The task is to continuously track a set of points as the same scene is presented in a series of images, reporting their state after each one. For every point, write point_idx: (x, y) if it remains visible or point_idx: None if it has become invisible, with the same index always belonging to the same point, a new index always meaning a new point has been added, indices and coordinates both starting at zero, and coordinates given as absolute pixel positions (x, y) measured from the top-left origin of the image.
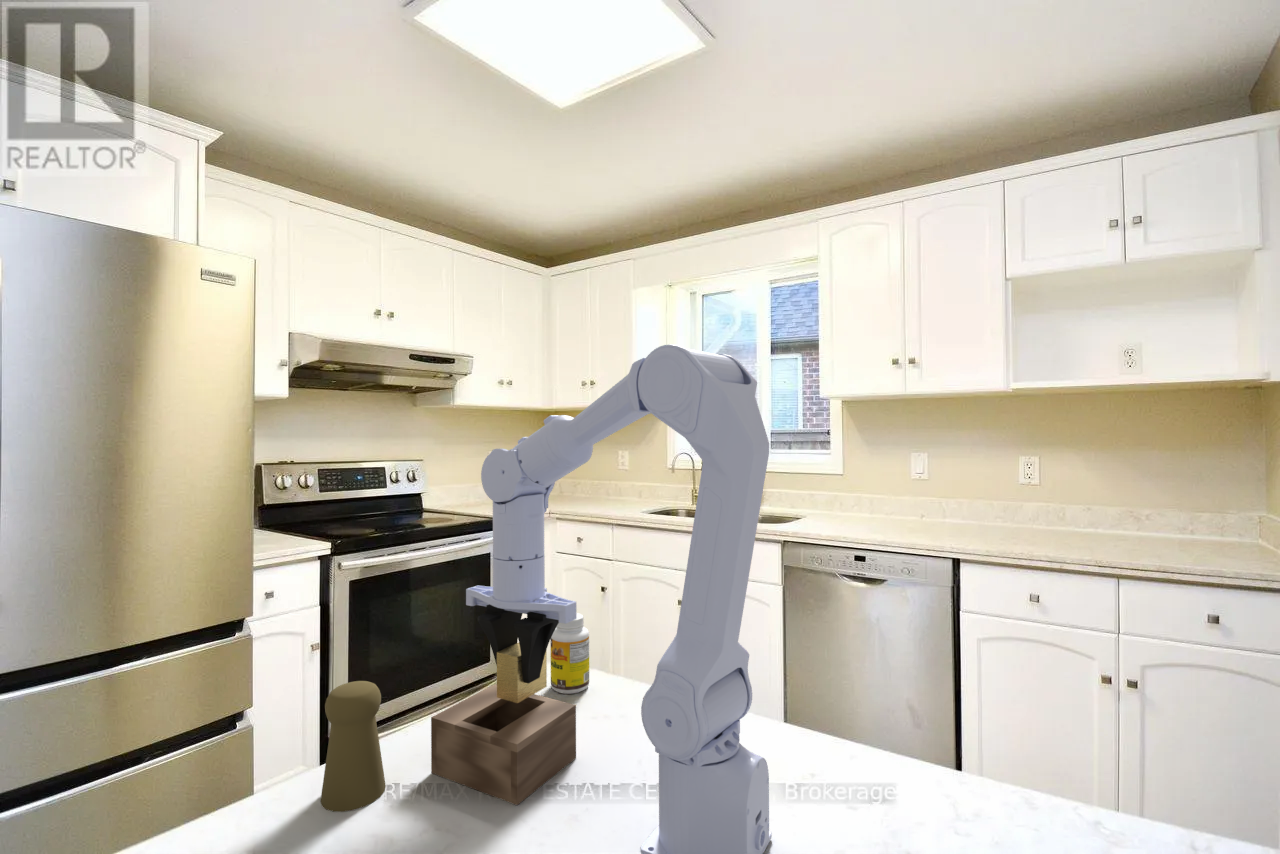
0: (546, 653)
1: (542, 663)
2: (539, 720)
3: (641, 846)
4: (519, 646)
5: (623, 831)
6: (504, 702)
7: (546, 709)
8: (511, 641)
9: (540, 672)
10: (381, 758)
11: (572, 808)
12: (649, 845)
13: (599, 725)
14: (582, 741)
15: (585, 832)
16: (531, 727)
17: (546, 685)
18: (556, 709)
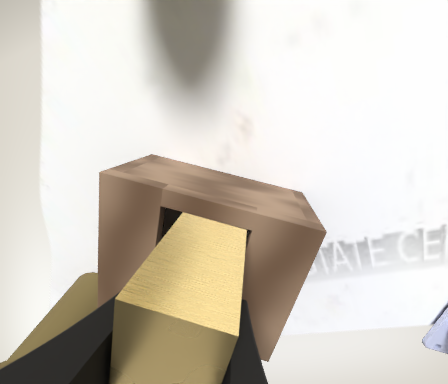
0: (240, 294)
1: (253, 334)
2: (272, 300)
3: (426, 344)
4: (145, 374)
5: (397, 312)
6: (162, 221)
7: (268, 261)
8: (94, 376)
9: (248, 311)
10: (95, 309)
11: (328, 287)
12: (435, 342)
13: (313, 71)
14: (297, 140)
15: (353, 317)
16: (268, 320)
17: (246, 232)
18: (289, 258)
